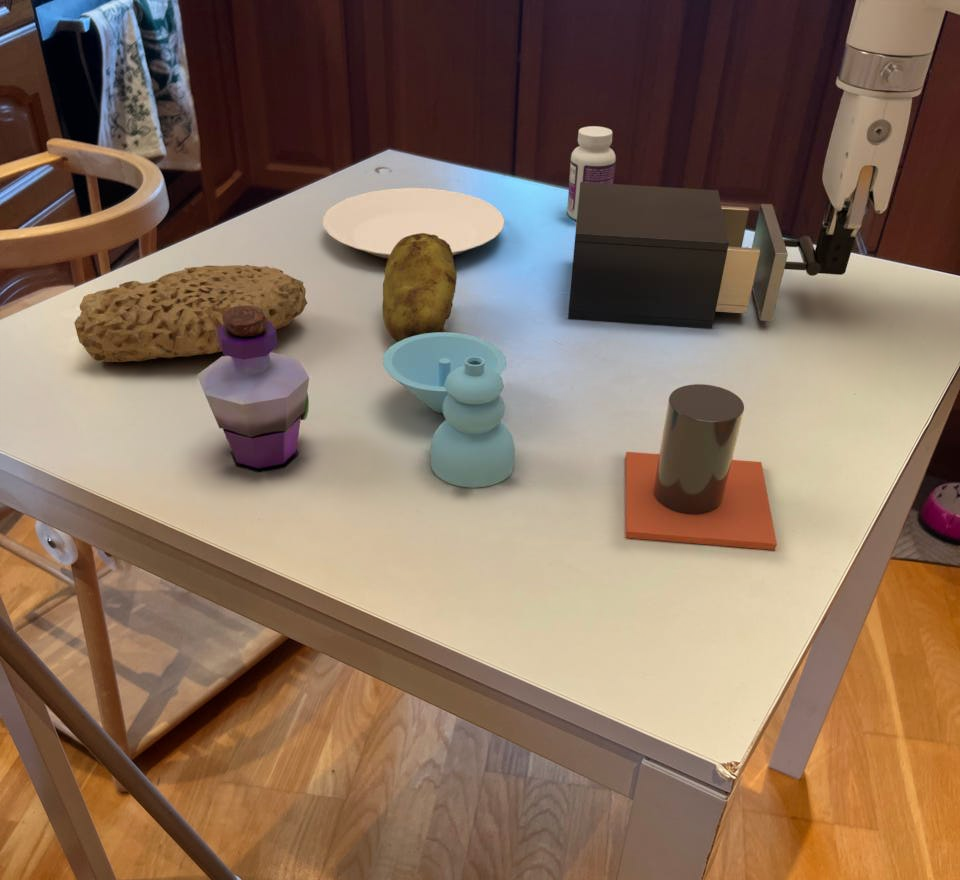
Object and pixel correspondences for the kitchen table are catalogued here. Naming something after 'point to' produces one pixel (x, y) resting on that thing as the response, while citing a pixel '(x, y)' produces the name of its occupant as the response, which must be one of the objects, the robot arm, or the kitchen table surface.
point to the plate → (412, 219)
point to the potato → (418, 286)
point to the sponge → (181, 311)
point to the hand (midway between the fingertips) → (827, 270)
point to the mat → (728, 525)
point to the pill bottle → (590, 163)
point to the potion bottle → (256, 391)
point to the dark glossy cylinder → (697, 448)
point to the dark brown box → (647, 255)
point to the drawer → (758, 262)
